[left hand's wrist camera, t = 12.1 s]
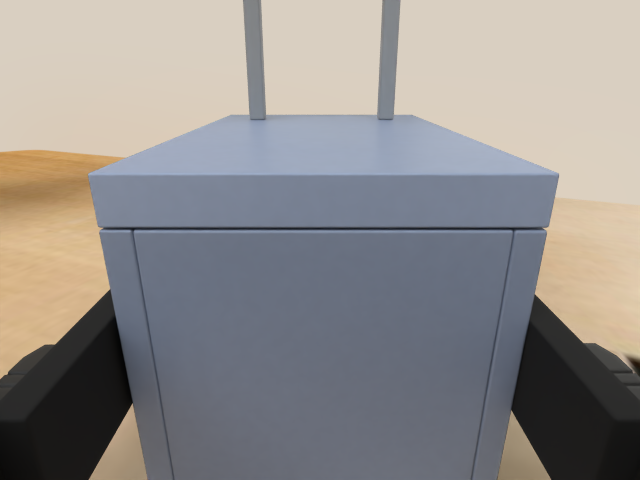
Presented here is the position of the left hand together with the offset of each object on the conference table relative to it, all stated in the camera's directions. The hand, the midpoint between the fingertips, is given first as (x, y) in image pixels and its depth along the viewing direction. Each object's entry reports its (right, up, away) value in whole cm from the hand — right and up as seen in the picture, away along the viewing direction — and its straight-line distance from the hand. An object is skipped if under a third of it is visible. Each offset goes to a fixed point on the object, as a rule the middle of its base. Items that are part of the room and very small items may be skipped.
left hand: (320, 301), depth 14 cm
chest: (0, -4, +6) cm, 7 cm away
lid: (0, +5, +3) cm, 6 cm away
